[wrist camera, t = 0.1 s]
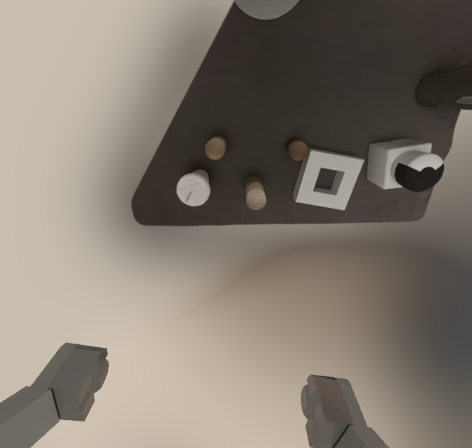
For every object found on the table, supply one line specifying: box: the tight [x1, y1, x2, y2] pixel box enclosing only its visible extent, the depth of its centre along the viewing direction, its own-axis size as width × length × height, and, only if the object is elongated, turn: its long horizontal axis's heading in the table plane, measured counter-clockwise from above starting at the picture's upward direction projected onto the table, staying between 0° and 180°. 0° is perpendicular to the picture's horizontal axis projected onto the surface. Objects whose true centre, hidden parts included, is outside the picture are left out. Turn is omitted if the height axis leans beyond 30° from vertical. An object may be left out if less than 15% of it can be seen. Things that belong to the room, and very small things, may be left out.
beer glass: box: [416, 62, 472, 110], centre depth 40 cm, size 7×7×15 cm
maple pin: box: [246, 175, 266, 210], centre depth 50 cm, size 4×4×12 cm
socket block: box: [292, 148, 364, 210], centre depth 53 cm, size 11×11×4 cm
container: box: [367, 139, 444, 192], centre depth 47 cm, size 8×8×13 cm
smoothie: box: [177, 170, 210, 206], centre depth 49 cm, size 6×6×14 cm
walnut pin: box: [286, 139, 309, 161], centre depth 50 cm, size 4×4×5 cm
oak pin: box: [205, 135, 227, 160], centre depth 48 cm, size 4×4×8 cm
